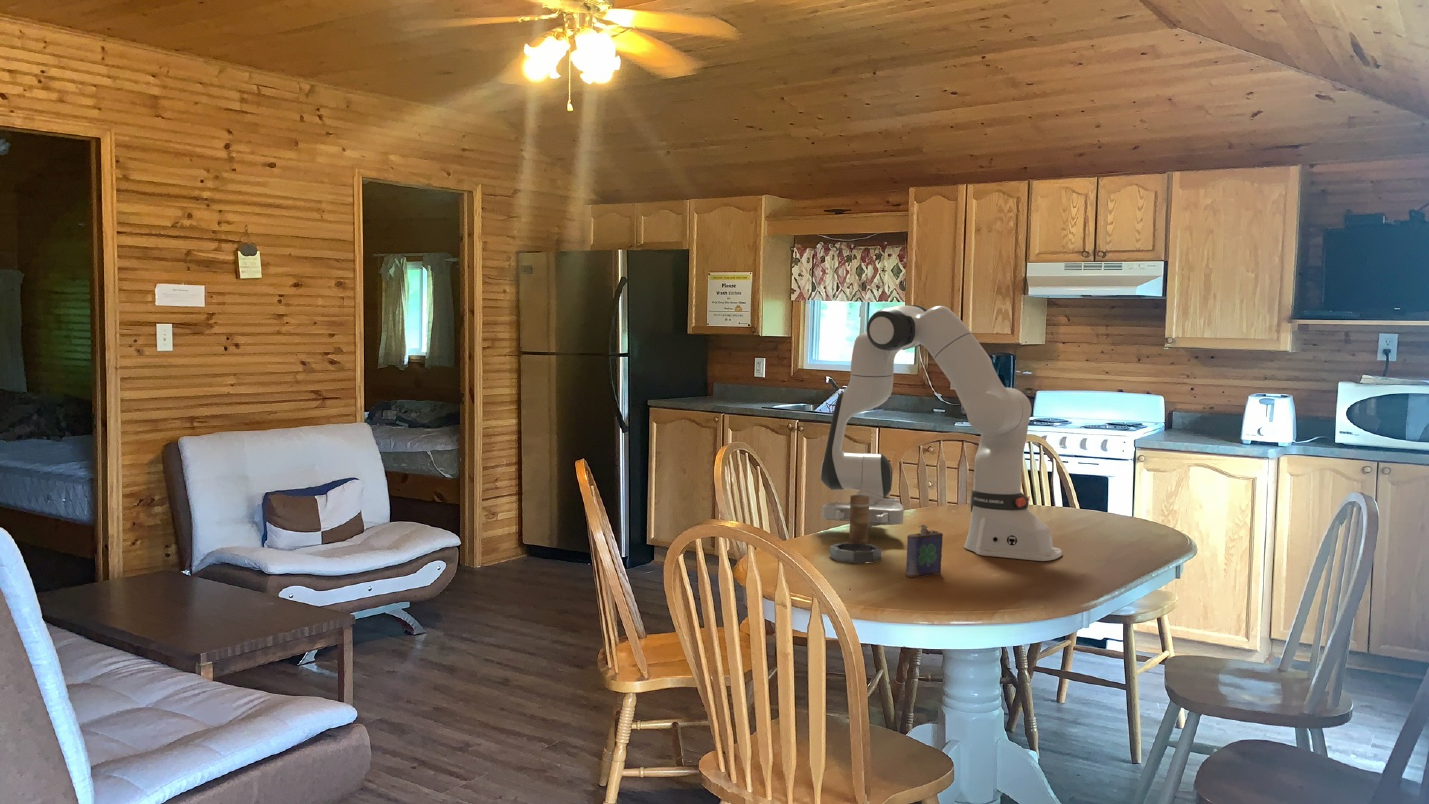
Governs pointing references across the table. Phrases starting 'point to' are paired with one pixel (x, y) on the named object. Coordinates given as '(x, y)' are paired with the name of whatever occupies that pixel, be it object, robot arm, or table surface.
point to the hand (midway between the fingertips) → (859, 518)
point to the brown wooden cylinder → (859, 519)
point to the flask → (924, 553)
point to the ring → (855, 552)
